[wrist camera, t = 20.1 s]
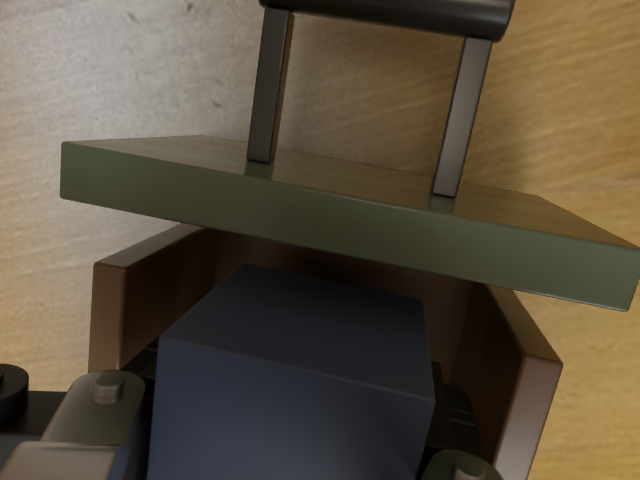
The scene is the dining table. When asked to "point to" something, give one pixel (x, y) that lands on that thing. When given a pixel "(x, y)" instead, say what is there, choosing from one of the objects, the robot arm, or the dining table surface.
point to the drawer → (357, 229)
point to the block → (292, 383)
